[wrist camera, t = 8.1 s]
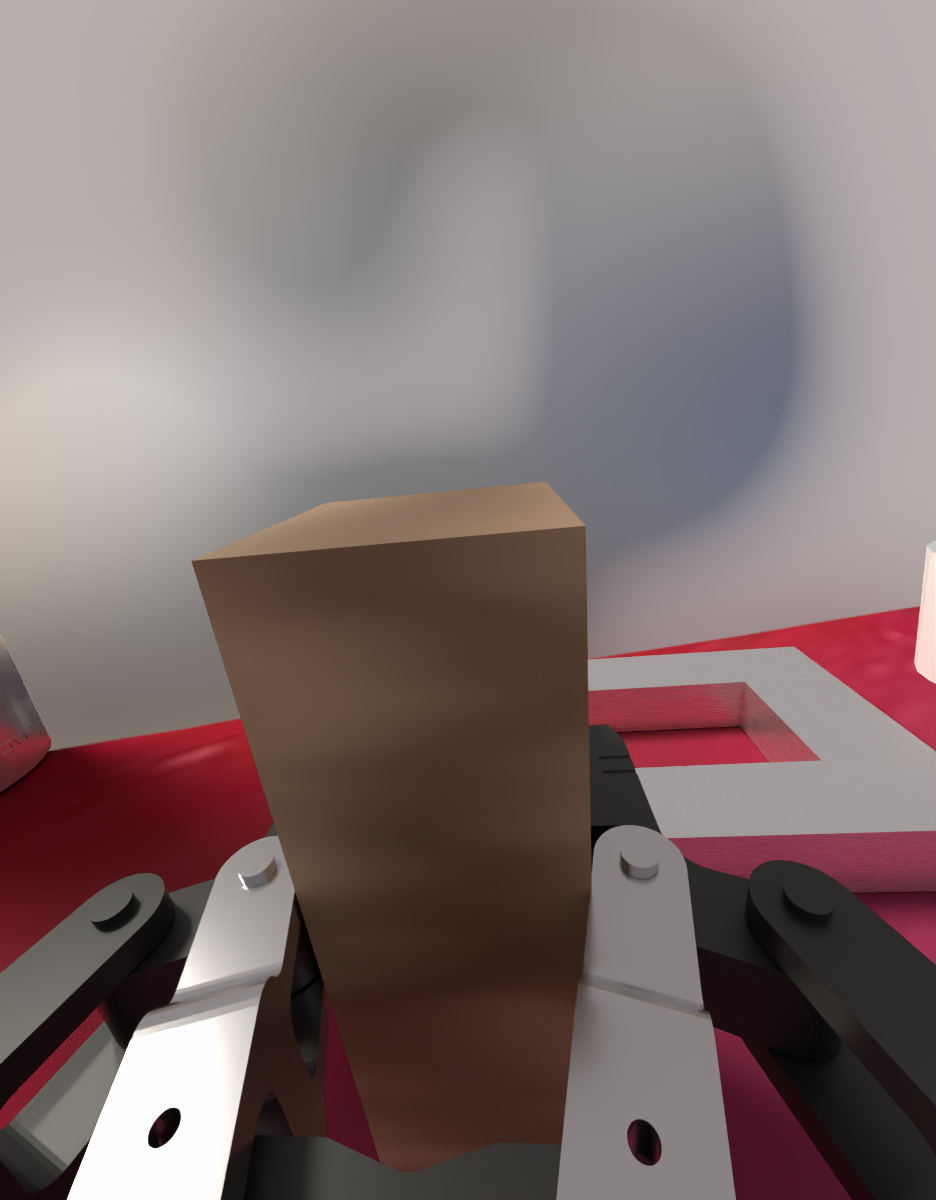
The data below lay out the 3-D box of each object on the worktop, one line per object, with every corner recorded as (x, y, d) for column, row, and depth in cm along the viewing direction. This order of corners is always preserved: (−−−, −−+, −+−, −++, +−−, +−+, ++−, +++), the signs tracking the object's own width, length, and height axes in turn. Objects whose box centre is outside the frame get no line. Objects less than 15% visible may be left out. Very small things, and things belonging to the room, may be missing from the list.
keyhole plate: (327, 901, 16) (312, 848, 16) (397, 709, 28) (390, 672, 27) (1013, 889, 14) (1039, 827, 14) (787, 687, 26) (793, 646, 25)
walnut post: (398, 1220, 10) (191, 561, 5) (426, 997, 13) (325, 503, 9) (598, 1230, 9) (584, 525, 4) (569, 997, 13) (545, 481, 8)
